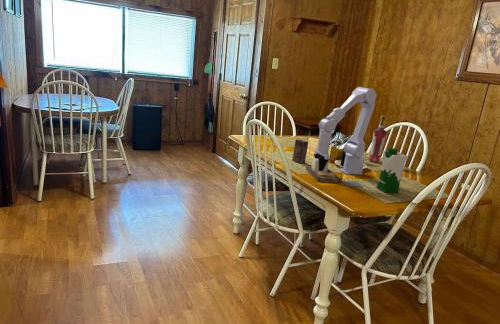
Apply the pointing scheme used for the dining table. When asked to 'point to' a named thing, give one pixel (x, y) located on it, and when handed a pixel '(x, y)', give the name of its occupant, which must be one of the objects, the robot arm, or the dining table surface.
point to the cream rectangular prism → (316, 166)
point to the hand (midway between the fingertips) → (319, 169)
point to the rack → (323, 179)
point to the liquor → (378, 141)
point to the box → (300, 151)
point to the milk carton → (391, 171)
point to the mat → (351, 184)
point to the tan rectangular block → (326, 174)
